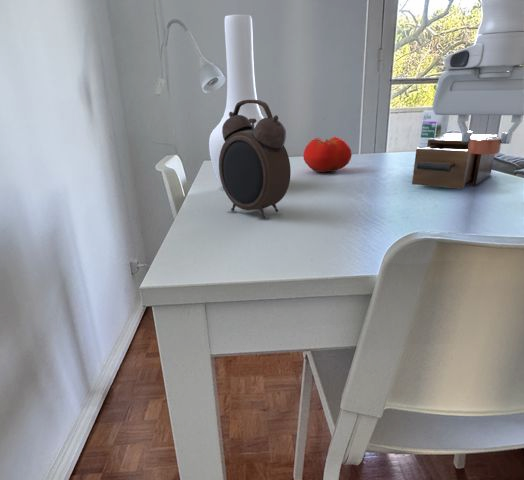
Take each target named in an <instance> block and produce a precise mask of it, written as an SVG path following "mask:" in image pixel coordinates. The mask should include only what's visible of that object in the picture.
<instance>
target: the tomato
mask: <svg viewBox="0 0 524 480" xmlns="http://www.w3.org/2000/svg"><path fill="white" fill-rule="evenodd" d="M302 156H303V160H304V163H305V165H307V167H308V168H309V169H311V170H312V171H315V172H320V173H327V172H329V171H330V172H332V171H333V172H336V171H338V170H342V169H343V168H345V167H346V166H347V165H349V163H350V162H351V159H352V156H353V154H352V150H351V147H350V146H349V144H348V143H347V142H346V141H345V140H344V139H343V138H341V137H336V136H333V137H330V138H329V139H325V140H324V139H322V138H320V137H317V138H313V139H311V140H310V141H309V142H308V144H307V145H306V146H305V148H304V150H303V155H302Z"/></svg>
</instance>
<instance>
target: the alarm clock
mask: <svg viewBox="0 0 524 480" xmlns="http://www.w3.org/2000/svg"><path fill="white" fill-rule="evenodd" d="M246 103H255V104H258V106H261V107H262V108H263V110H264V112H265V115H266V117H263V118H264V119H261V120H260V121H259V122H258V123H257V125H256V126H255V128H254V123H256V119H251V118H250V119H249V120H248V118H247V117H245V116H243V115H238V112H239V110H240V107H241V106H242V105H244V104H246ZM229 116H230V118H229V119H227V120H226V121H225V123H224V124H223V127H222V134H223V138H224V141H225V142H224V144H223V146H222V149H221V152H220V157H219V174H220V179H221V183H222V186H223V187H222V186H221V187H222V188H223V191H224V192H225V194H226V196H227V198H228V199H229V201H230V202H231V203H232V207H231V209H230V210H231V211H232V212H235V210H236V207H237V208H239V209H241V210H244V211H259V213H260V214H261V216H262V219H264V220H265V219H266V218H267V215H265V211H264V209H266V208H269V207H271V206H272V208H273V209H274V211H275V213H278V212H279V209H278V207H277V205H276V204H278V203H279V202H281V201H282V200H283V198H284V197H285V196H286V193H287V192H288V189H289V187H290V183H291V176H292V175H291V172H292V171H291V161H290V157H289V154H288V151H287V149H286V147H285V143H286V138H287V130H286V127H285V126H284V124H283V123H282V122H281V121H279V116H278V115H276V114H275V115H273V114H272V110H271V109H270V107H269V105H268V104H267V103H266V102H265V101H263V100H260V99H257V100H243V101H241V102H238V103H237V104H236V106H235V109H234V112H233V113H232V112H229ZM251 123H252V124H251Z"/></svg>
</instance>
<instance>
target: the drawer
mask: <svg viewBox="0 0 524 480" xmlns="http://www.w3.org/2000/svg"><path fill="white" fill-rule="evenodd" d="M467 150H468V145H462V144H434V145H431V146H428V147H425V148H419V147H417V148H415V157H414V165H413V171H412V172H413V173H412V181H411V185H414V186H424V187H437V188H448V189H459V190H462V189H464V188H465V185H464V184H465V183H467V182H468V181H470V180H472V179H473V177H474V172H475V166H476V161H477V156H478V154H472V153H468V152H467Z"/></svg>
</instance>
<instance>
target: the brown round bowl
mask: <svg viewBox="0 0 524 480" xmlns="http://www.w3.org/2000/svg"><path fill="white" fill-rule="evenodd" d="M501 139H502V138H501V136H498V137H471V138H469V144H468V150H467V152H468V153H472V154H495V155H496V154H497V155H498V154H499V153H501V148H502V143H500V141H501Z"/></svg>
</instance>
